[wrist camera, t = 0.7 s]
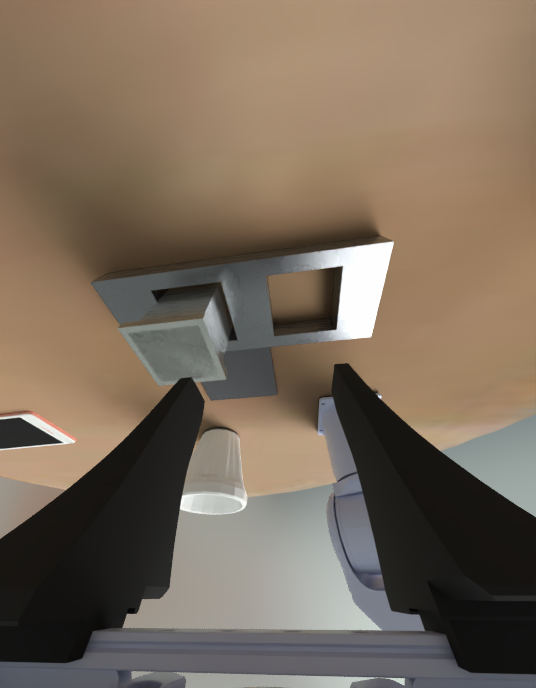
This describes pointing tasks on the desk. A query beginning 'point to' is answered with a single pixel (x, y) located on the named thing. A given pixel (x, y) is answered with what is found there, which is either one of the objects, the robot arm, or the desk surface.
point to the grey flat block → (266, 290)
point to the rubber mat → (245, 375)
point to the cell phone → (30, 431)
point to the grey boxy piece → (183, 334)
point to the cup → (215, 475)
